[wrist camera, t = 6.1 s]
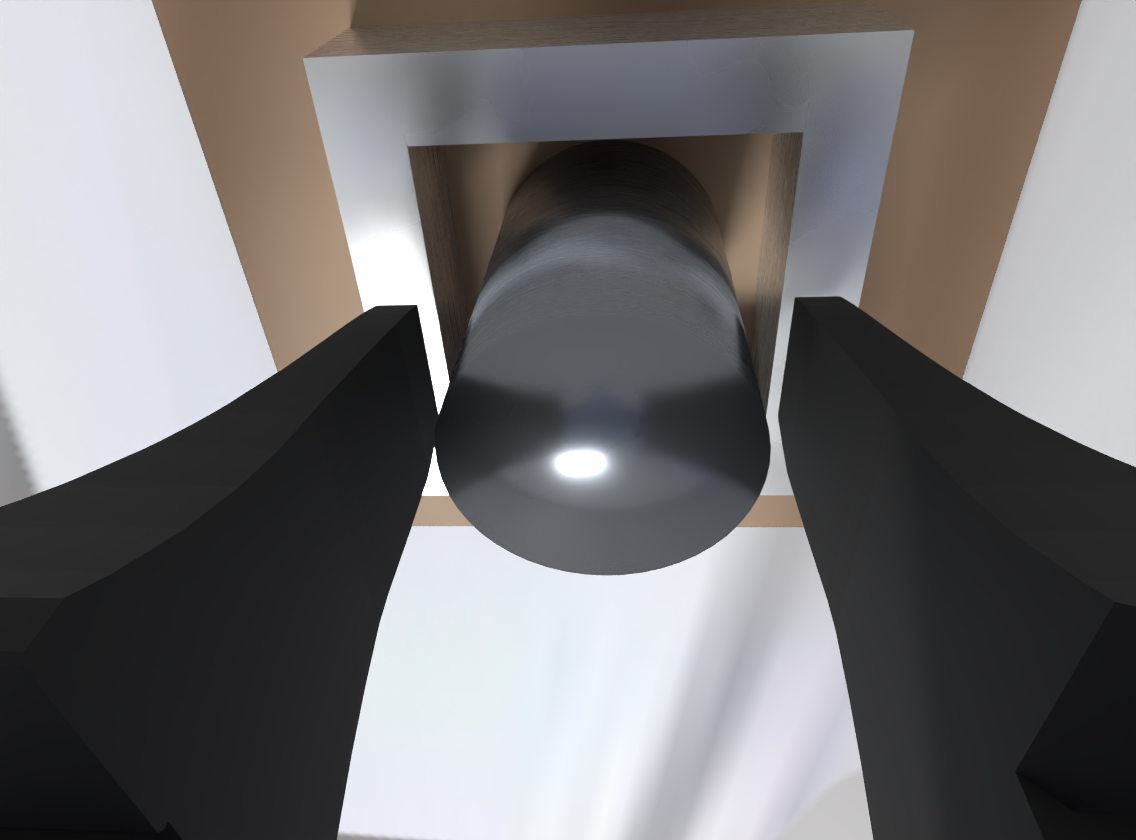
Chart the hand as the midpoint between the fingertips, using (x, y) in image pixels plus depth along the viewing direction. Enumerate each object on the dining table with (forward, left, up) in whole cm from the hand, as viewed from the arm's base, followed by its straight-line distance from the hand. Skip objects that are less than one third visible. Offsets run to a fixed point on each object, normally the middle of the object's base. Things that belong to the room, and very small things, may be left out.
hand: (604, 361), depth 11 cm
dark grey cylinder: (0, 0, -4) cm, 4 cm away
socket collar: (0, 0, -4) cm, 4 cm away
